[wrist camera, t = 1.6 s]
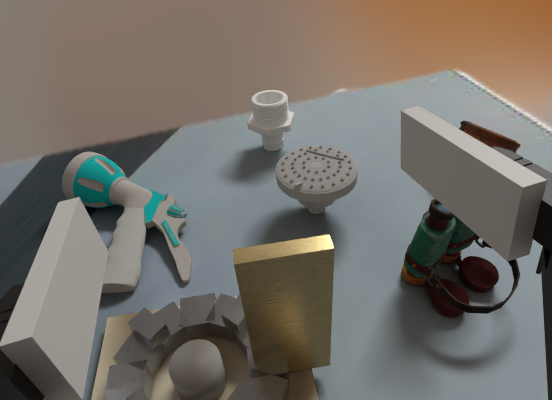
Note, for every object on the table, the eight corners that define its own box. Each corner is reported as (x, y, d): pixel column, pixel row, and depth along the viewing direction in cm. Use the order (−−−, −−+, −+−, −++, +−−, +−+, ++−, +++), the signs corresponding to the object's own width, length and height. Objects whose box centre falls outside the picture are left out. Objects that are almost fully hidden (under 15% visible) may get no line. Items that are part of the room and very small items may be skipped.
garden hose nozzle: (183, 268, 39) (204, 141, 53) (0, 269, 38) (69, 140, 52) (192, 305, 44) (209, 180, 58) (31, 306, 43) (87, 180, 57)
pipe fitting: (245, 140, 63) (239, 93, 58) (288, 131, 65) (285, 84, 59) (256, 161, 58) (250, 112, 53) (302, 150, 60) (300, 101, 55)
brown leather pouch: (414, 166, 56) (443, 111, 53) (468, 185, 58) (499, 133, 55) (460, 202, 45) (501, 134, 42) (524, 224, 47) (566, 161, 45)
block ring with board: (97, 502, 26) (-16, 415, 17) (126, 321, 37) (65, 209, 28) (352, 452, 28) (369, 346, 19) (310, 290, 38) (307, 174, 29)
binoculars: (512, 280, 28) (404, 198, 34) (464, 346, 35) (382, 270, 41) (578, 224, 32) (470, 159, 37) (521, 295, 39) (438, 232, 45)
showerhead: (256, 175, 44) (298, 132, 50) (262, 223, 48) (300, 178, 55) (336, 199, 40) (370, 148, 46) (334, 248, 44) (365, 196, 51)
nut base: (72, 532, 27) (43, 515, 24) (112, 324, 39) (95, 297, 36) (335, 479, 28) (337, 457, 25) (293, 294, 40) (291, 265, 37)
